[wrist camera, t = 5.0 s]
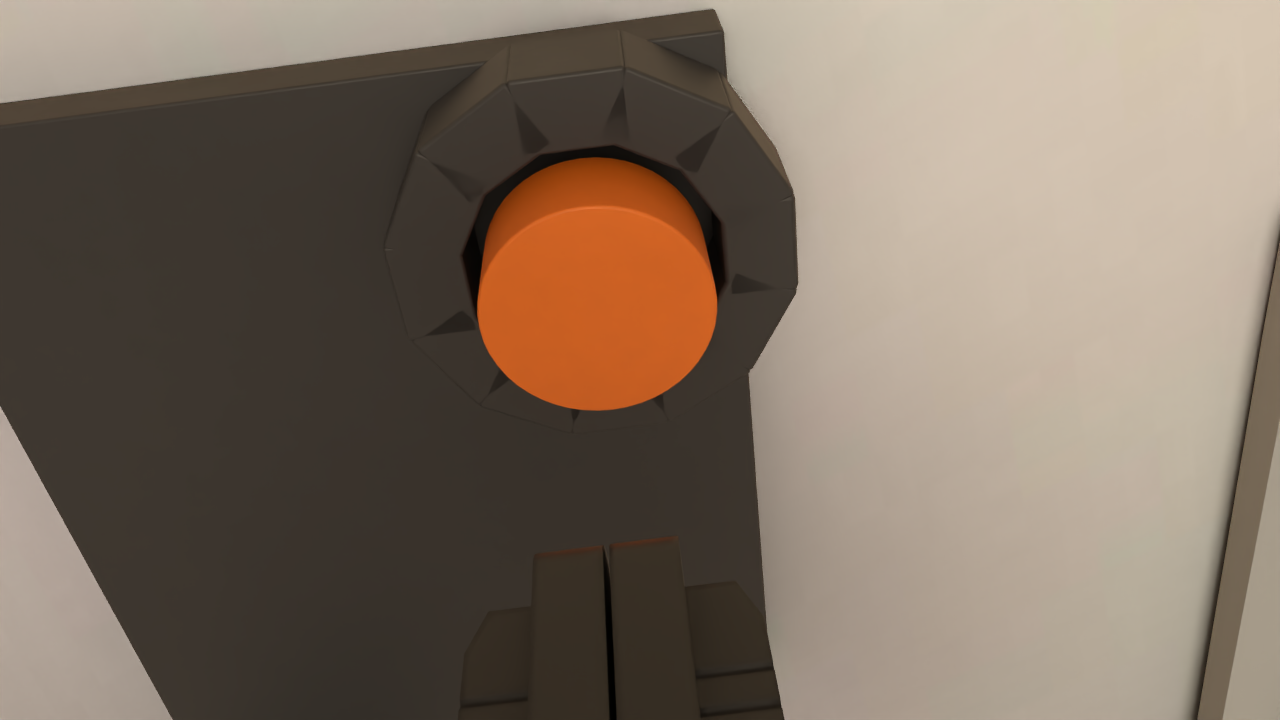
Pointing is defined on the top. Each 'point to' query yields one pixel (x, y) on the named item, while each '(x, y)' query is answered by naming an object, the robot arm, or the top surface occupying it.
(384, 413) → the scale
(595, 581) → the robot arm
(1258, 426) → the office telephone
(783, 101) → the top surface
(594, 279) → the button
